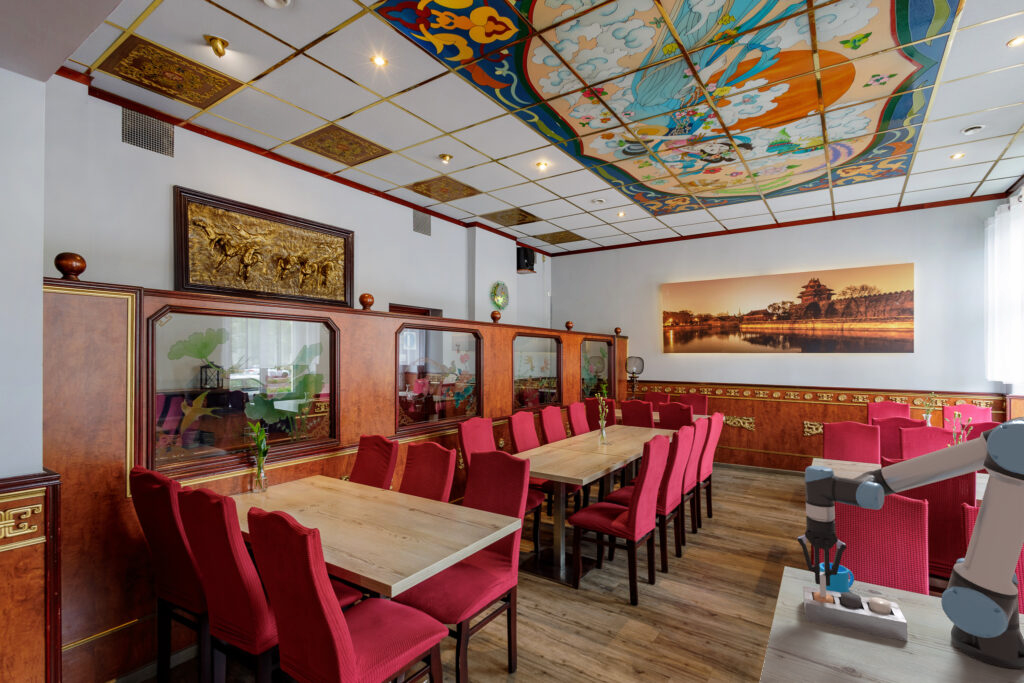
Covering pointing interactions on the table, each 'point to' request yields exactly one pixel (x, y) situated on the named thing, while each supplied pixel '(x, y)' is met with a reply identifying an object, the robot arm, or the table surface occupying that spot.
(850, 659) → the table surface
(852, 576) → the mug
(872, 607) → the button ivory
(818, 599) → the button terracotta
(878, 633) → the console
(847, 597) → the button black
